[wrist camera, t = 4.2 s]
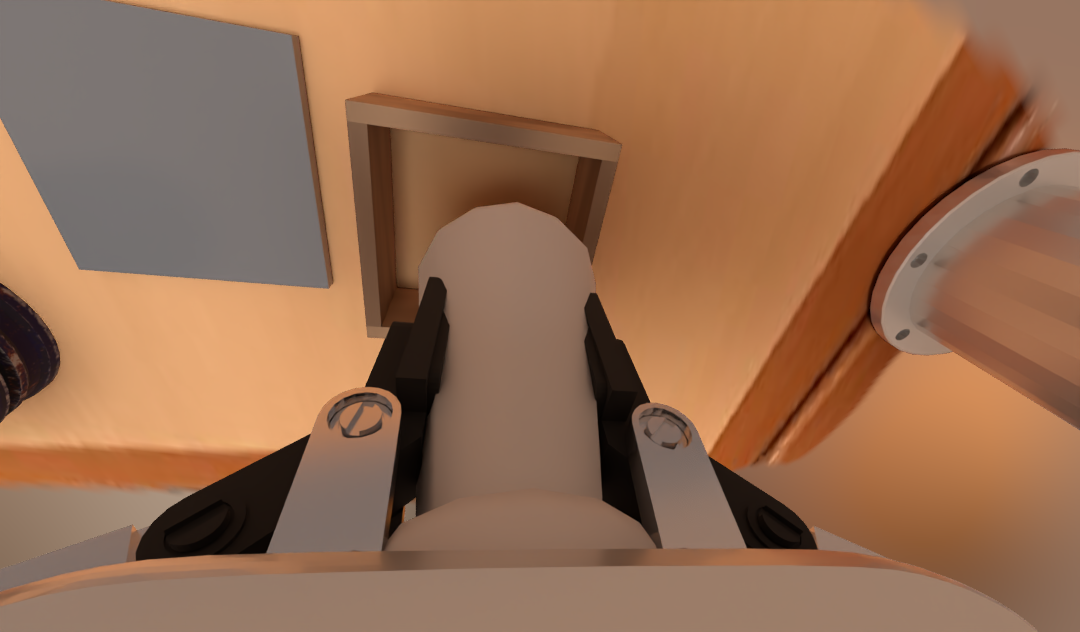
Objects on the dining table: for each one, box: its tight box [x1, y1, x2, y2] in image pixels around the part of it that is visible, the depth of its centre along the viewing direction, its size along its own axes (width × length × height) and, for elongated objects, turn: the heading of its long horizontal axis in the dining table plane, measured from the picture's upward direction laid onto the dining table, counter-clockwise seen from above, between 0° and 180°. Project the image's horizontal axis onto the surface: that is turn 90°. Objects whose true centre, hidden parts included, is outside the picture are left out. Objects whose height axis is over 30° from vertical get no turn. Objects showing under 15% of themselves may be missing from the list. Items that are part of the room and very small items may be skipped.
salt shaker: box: [384, 202, 657, 551], centre depth 9 cm, size 6×6×13 cm
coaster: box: [0, 0, 333, 289], centre depth 15 cm, size 10×10×1 cm
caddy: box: [345, 93, 622, 338], centre depth 17 cm, size 9×9×4 cm
